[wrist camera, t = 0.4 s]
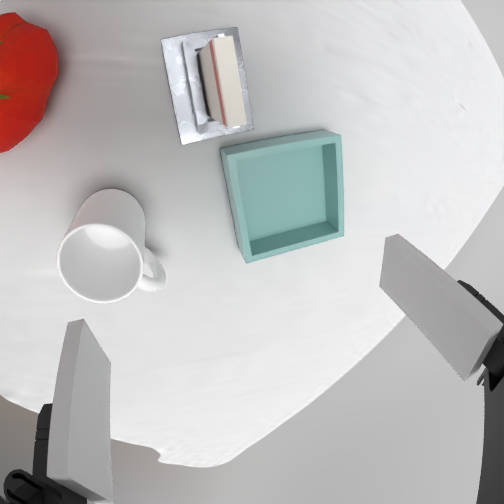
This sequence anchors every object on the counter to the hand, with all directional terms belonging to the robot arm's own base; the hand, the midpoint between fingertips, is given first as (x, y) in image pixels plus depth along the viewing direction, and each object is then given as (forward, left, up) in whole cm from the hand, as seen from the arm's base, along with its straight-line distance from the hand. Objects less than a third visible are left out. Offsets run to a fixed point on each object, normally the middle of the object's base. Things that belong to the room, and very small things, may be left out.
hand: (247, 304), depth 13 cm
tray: (+6, +10, -25) cm, 28 cm away
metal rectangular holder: (-8, +4, -25) cm, 27 cm away
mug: (+6, -9, -25) cm, 28 cm away
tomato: (-15, -18, -25) cm, 35 cm away
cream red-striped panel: (-8, +4, -25) cm, 26 cm away
